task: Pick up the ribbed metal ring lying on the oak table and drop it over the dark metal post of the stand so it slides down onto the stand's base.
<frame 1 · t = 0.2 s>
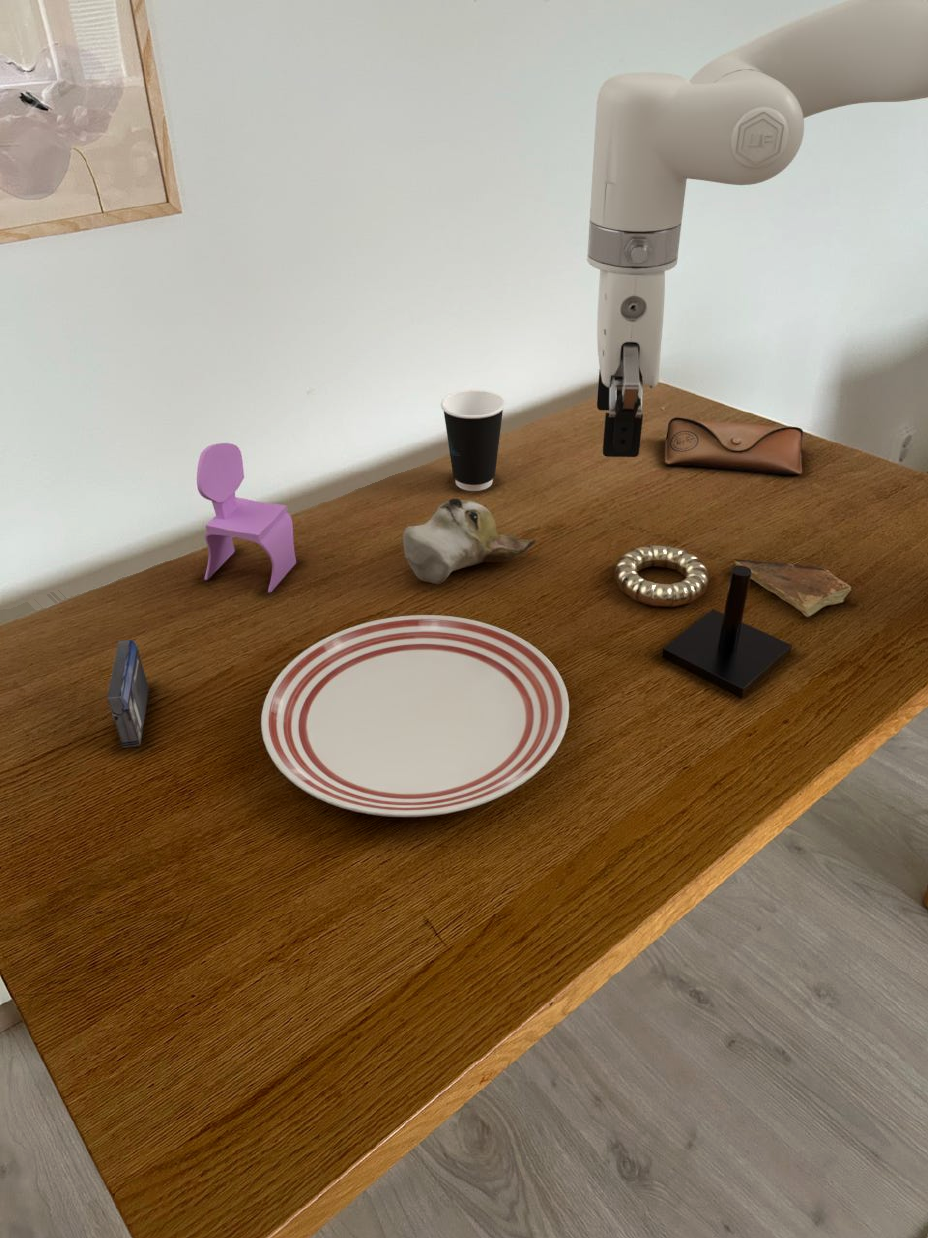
hand: (616, 431, 92), 20 cm above the table, tool pointing down, fingers open, 9 cm apart
ribbed metal ring: (661, 575, 107), point 1 cm above the table
ceramic sculpture: (459, 565, 111), on the table
sunglasses case: (732, 459, 131), on the table
shard: (788, 596, 105), on the table
dinner plate: (417, 728, 90), on the table
stand: (725, 656, 97), on the table
dixie cup: (474, 483, 127), on the table
toy chair: (253, 573, 111), on the table
mini dv tape: (136, 718, 91), on the table
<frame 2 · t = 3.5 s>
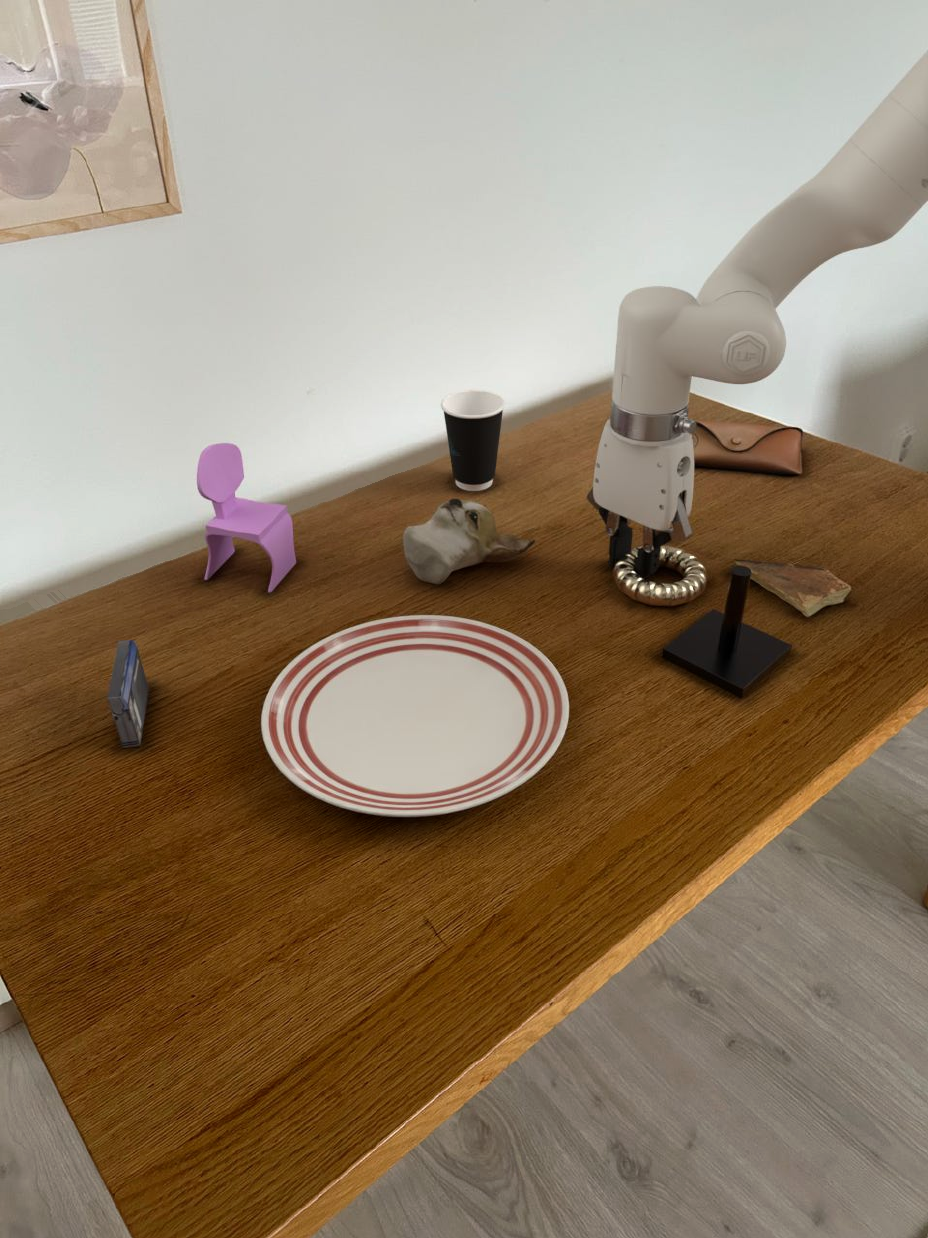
hand: (632, 568, 109), 0 cm above the table, tool pointing down, fingers closed on ribbed metal ring, 2 cm apart
ribbed metal ring: (660, 574, 107), point 1 cm above the table, touching gripper
everything else where it was.
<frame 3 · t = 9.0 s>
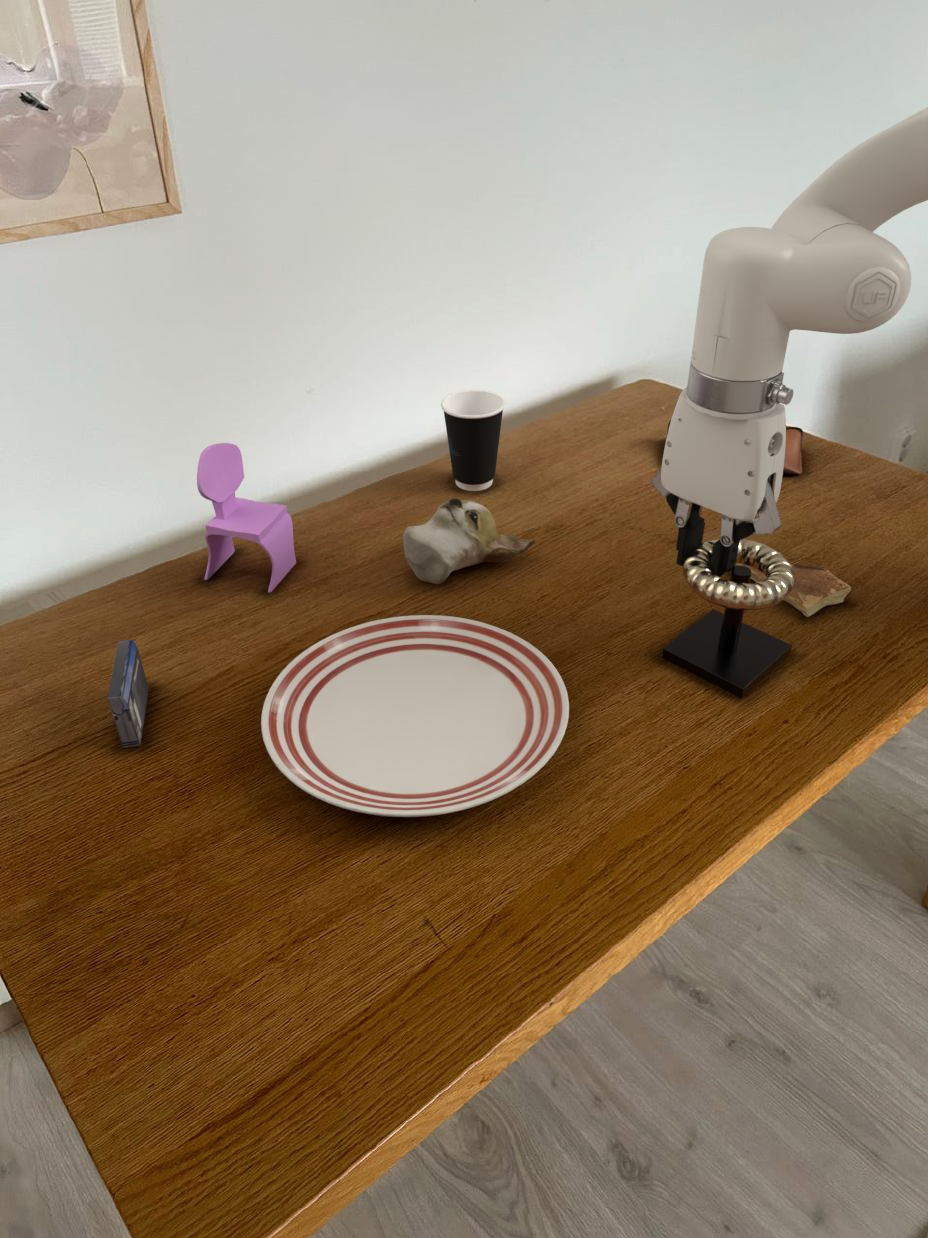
hand: (704, 565, 94), 9 cm above the table, tool pointing down, fingers closed on ribbed metal ring, 2 cm apart
ribbed metal ring: (738, 572, 91), point 10 cm above the table, touching gripper
everything else where it was.
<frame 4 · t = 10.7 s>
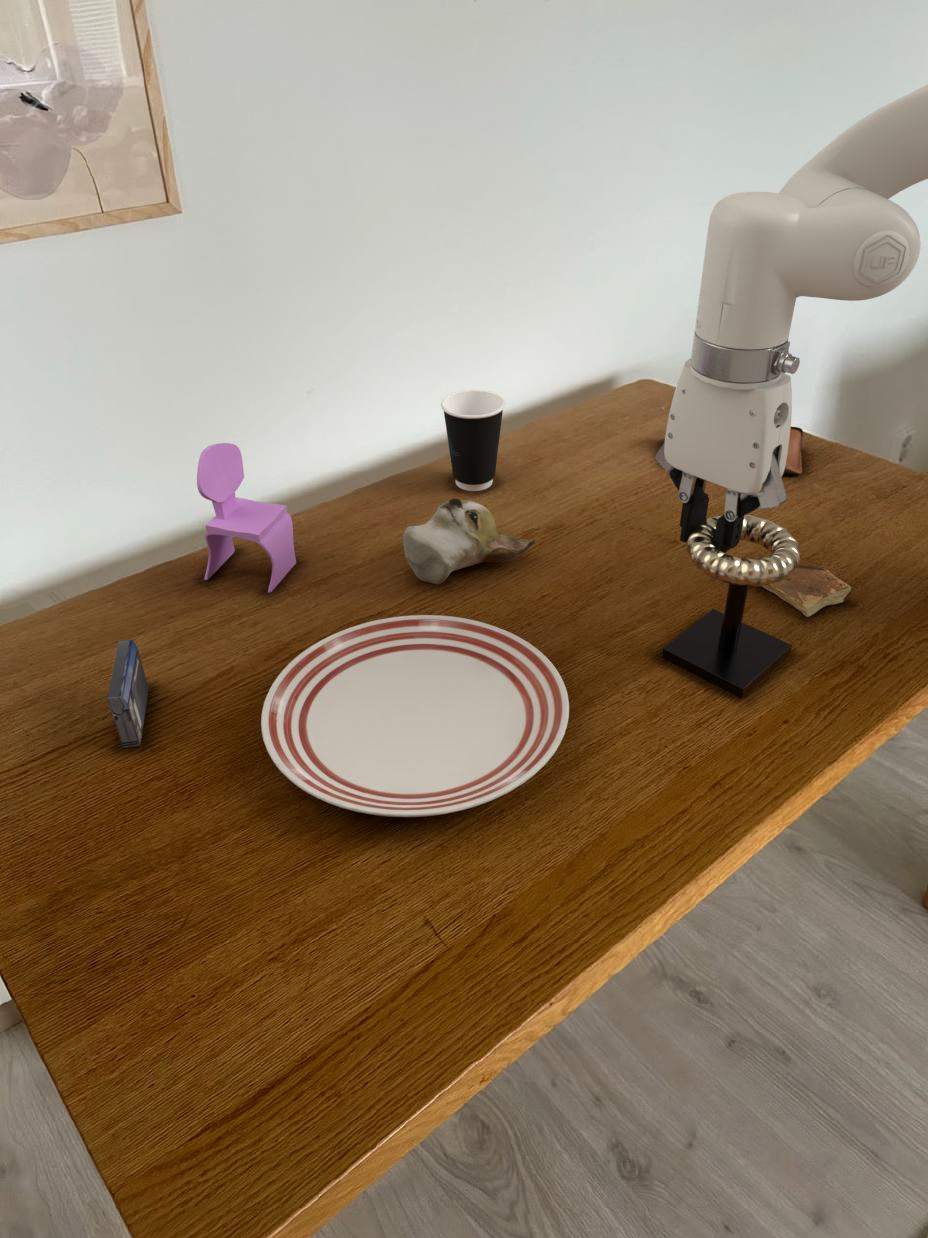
hand: (707, 541, 92), 12 cm above the table, tool pointing down, fingers closed on ribbed metal ring, 2 cm apart
ribbed metal ring: (742, 549, 90), point 12 cm above the table, touching gripper
everything else where it was.
when the fingers open (12 cm above the table, at t = 18.1 s): ribbed metal ring drops 11 cm, resting on stand.
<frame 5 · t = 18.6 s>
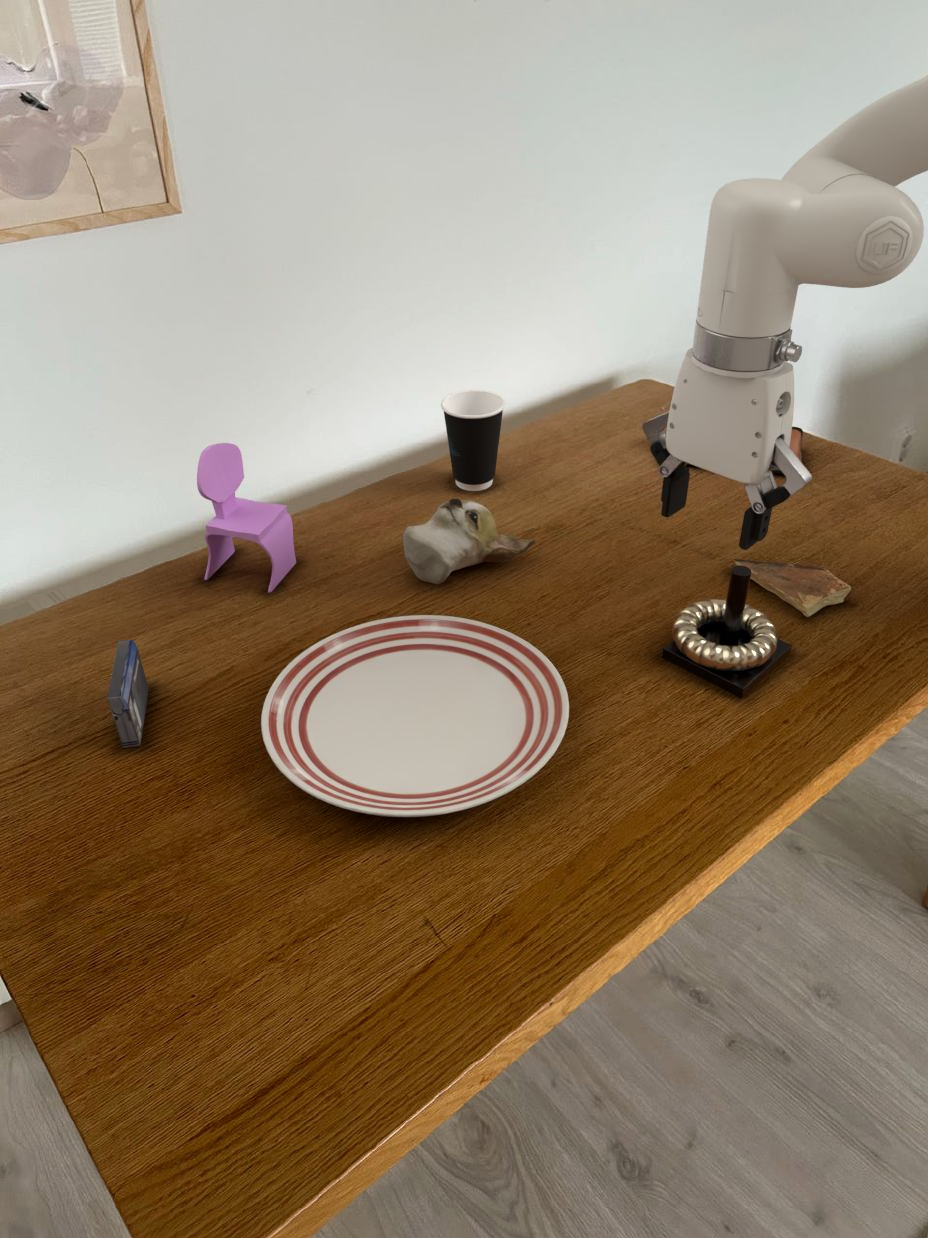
hand: (711, 526, 91), 13 cm above the table, tool pointing down, fingers open, 7 cm apart
ribbed metal ring: (724, 633, 96), point 2 cm above the table, touching stand
everything else where it was.
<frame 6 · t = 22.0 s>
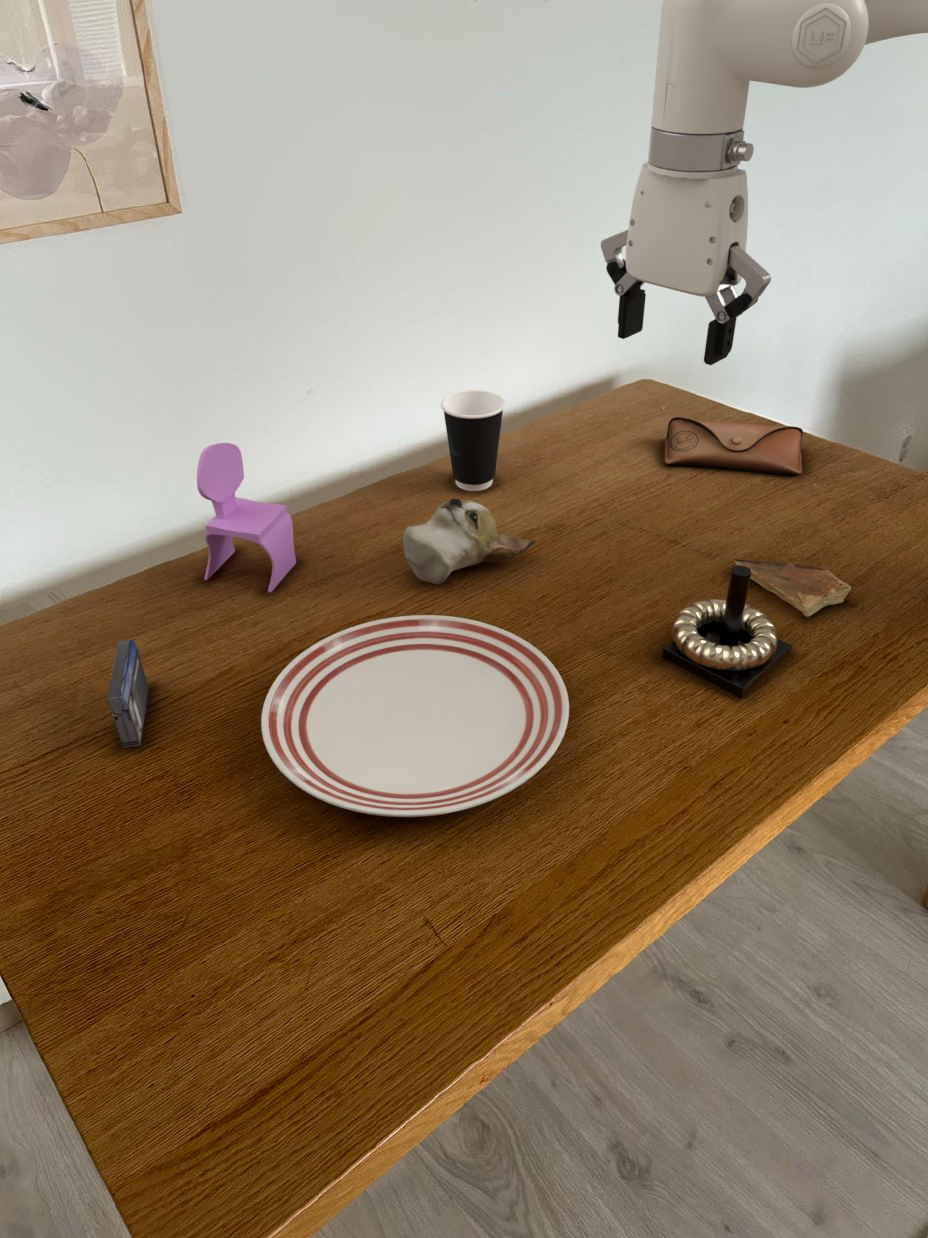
hand: (671, 347, 93), 26 cm above the table, tool pointing down, fingers open, 9 cm apart
nothing on the table moved.
at the end: ribbed metal ring 0.6 cm from the stand (horizontally); ribbed metal ring point 2.4 cm above the table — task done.
